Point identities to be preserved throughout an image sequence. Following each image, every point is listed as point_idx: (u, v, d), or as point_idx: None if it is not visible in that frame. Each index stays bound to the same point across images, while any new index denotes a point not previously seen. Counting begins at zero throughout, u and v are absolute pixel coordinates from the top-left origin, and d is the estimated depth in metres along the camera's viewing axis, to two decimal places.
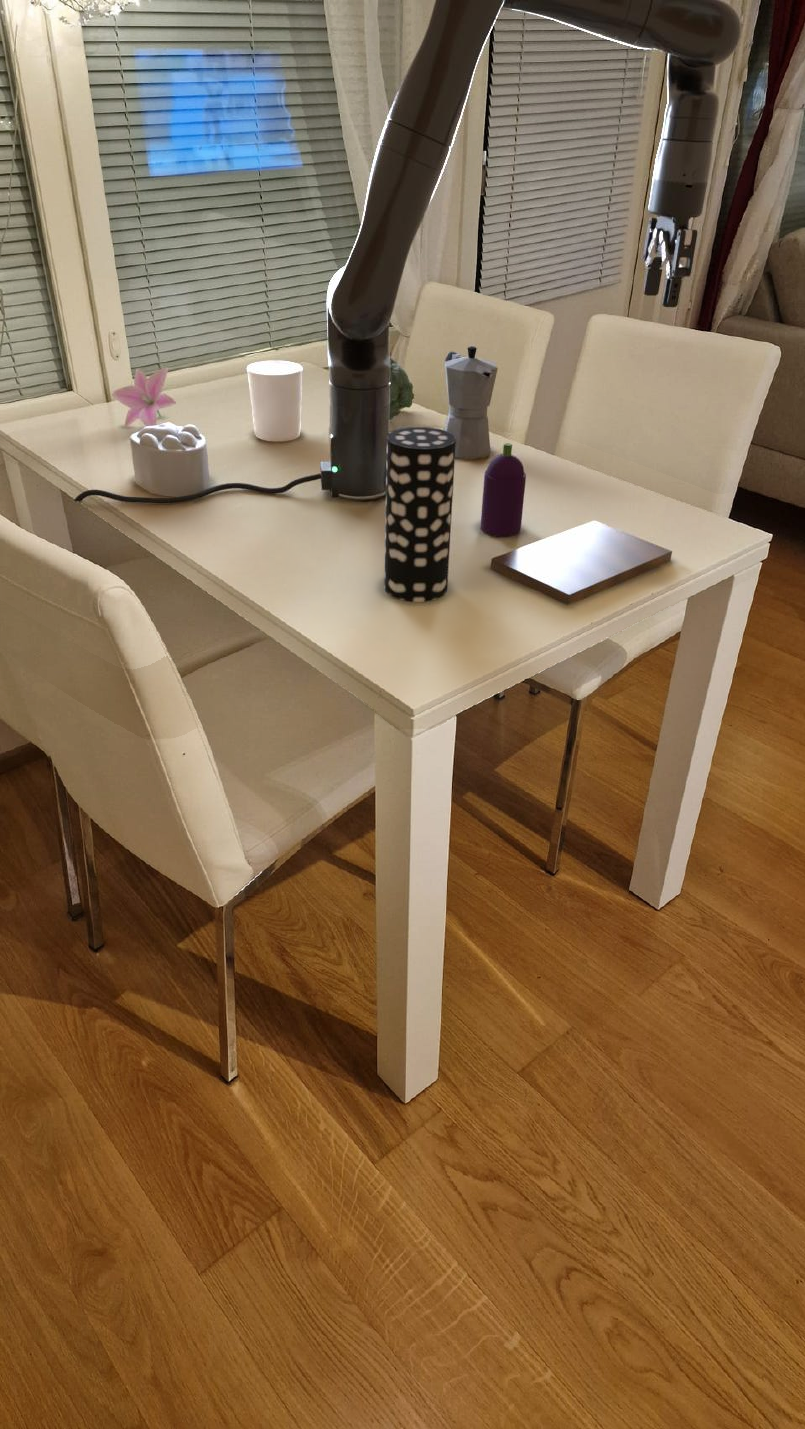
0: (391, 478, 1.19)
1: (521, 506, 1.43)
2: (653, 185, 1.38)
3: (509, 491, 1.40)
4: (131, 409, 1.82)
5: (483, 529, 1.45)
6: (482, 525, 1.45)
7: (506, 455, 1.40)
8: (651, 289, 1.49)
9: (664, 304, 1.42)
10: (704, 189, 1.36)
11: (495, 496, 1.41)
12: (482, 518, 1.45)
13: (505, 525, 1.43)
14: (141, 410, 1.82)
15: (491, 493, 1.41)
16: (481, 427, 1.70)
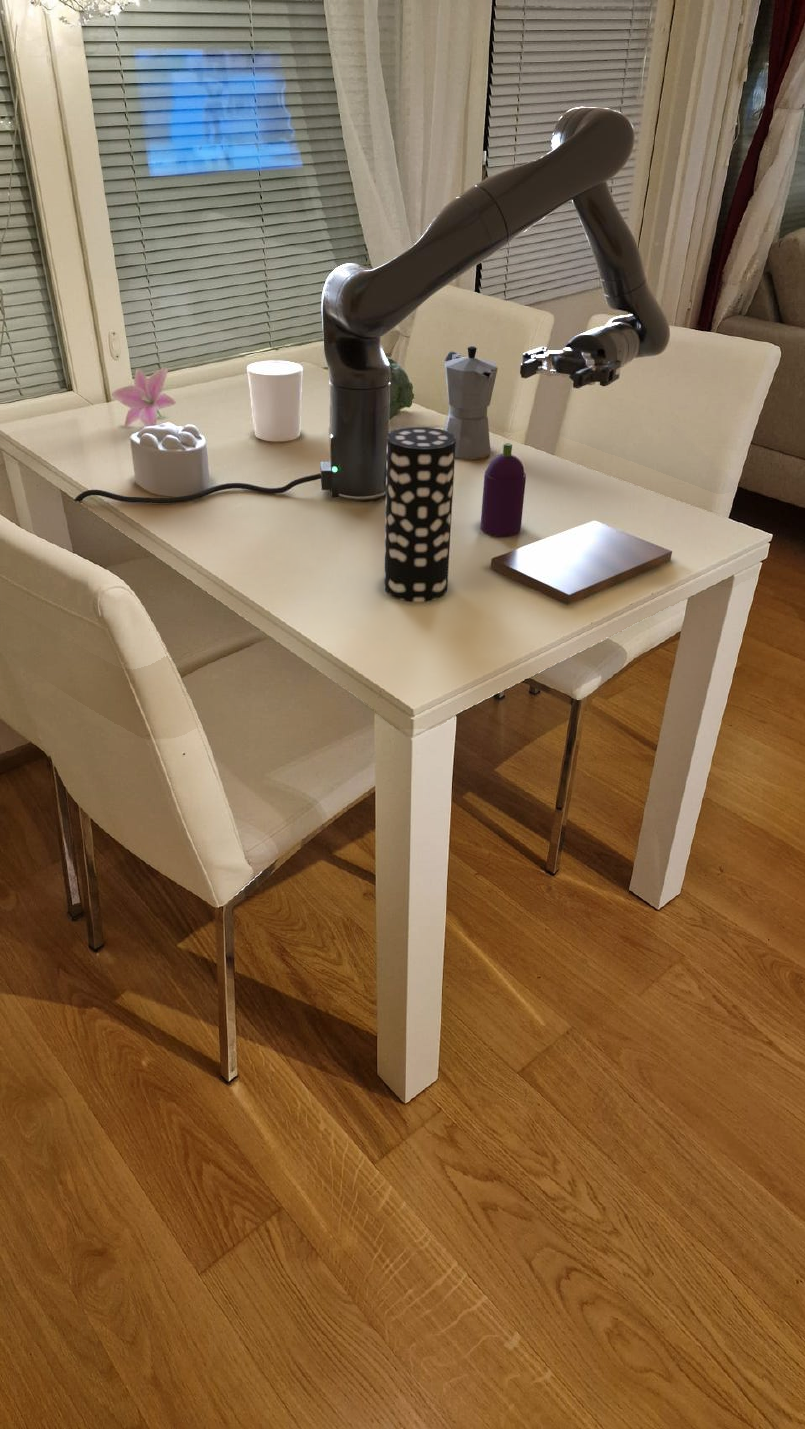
0: (391, 478, 1.19)
1: (521, 506, 1.43)
2: (595, 331, 1.52)
3: (509, 491, 1.40)
4: (131, 409, 1.82)
5: (483, 529, 1.45)
6: (482, 525, 1.45)
7: (506, 455, 1.40)
8: (528, 369, 1.46)
9: (579, 374, 1.41)
10: None
11: (495, 496, 1.41)
12: (482, 518, 1.45)
13: (505, 525, 1.43)
14: (141, 410, 1.82)
15: (491, 493, 1.41)
16: (481, 427, 1.70)
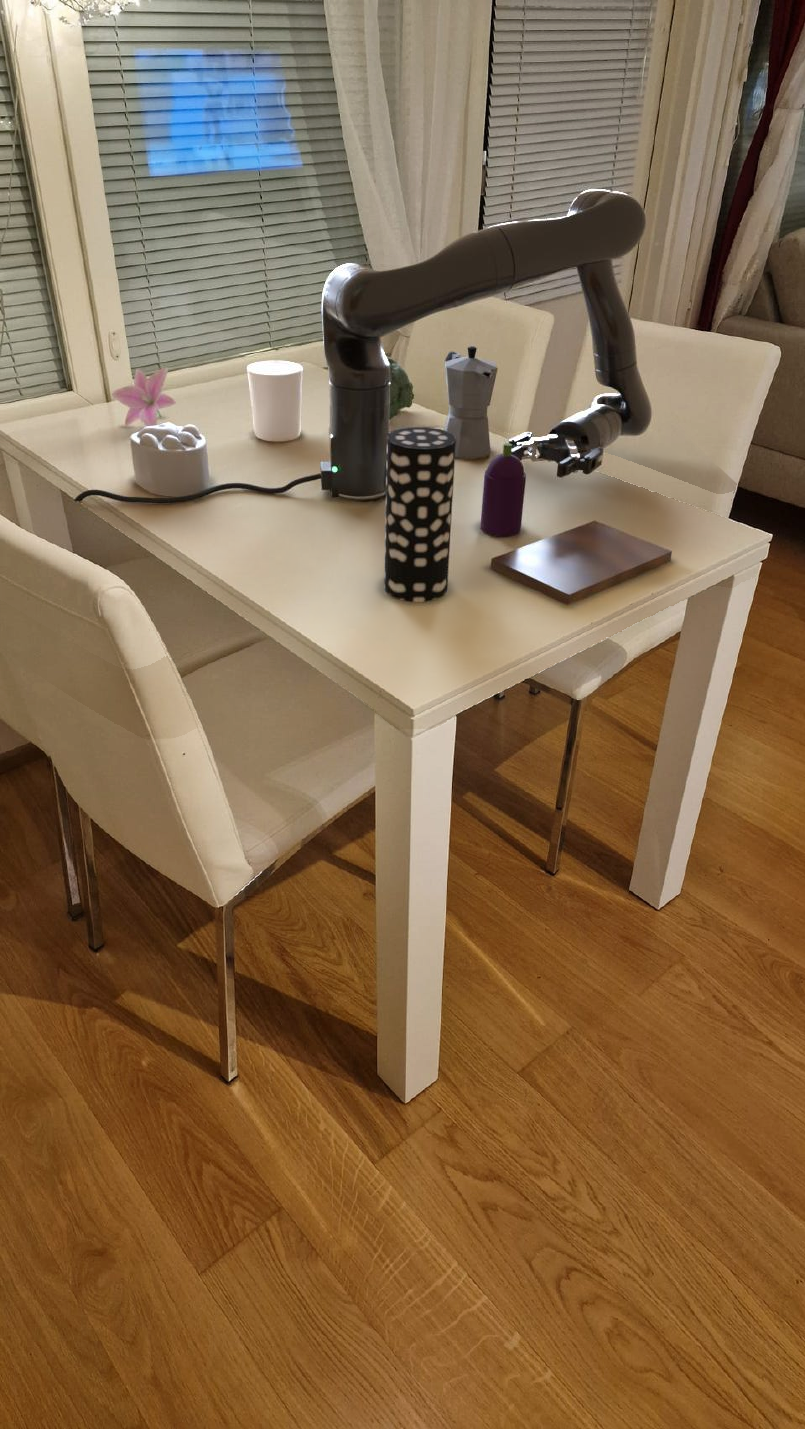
0: (391, 478, 1.19)
1: (521, 506, 1.43)
2: (579, 417, 1.57)
3: (509, 491, 1.40)
4: (131, 409, 1.82)
5: (483, 529, 1.45)
6: (482, 525, 1.45)
7: (506, 455, 1.40)
8: None
9: (563, 465, 1.47)
10: None
11: (495, 496, 1.41)
12: (482, 518, 1.45)
13: (505, 525, 1.43)
14: (141, 410, 1.82)
15: (491, 493, 1.41)
16: (481, 427, 1.70)
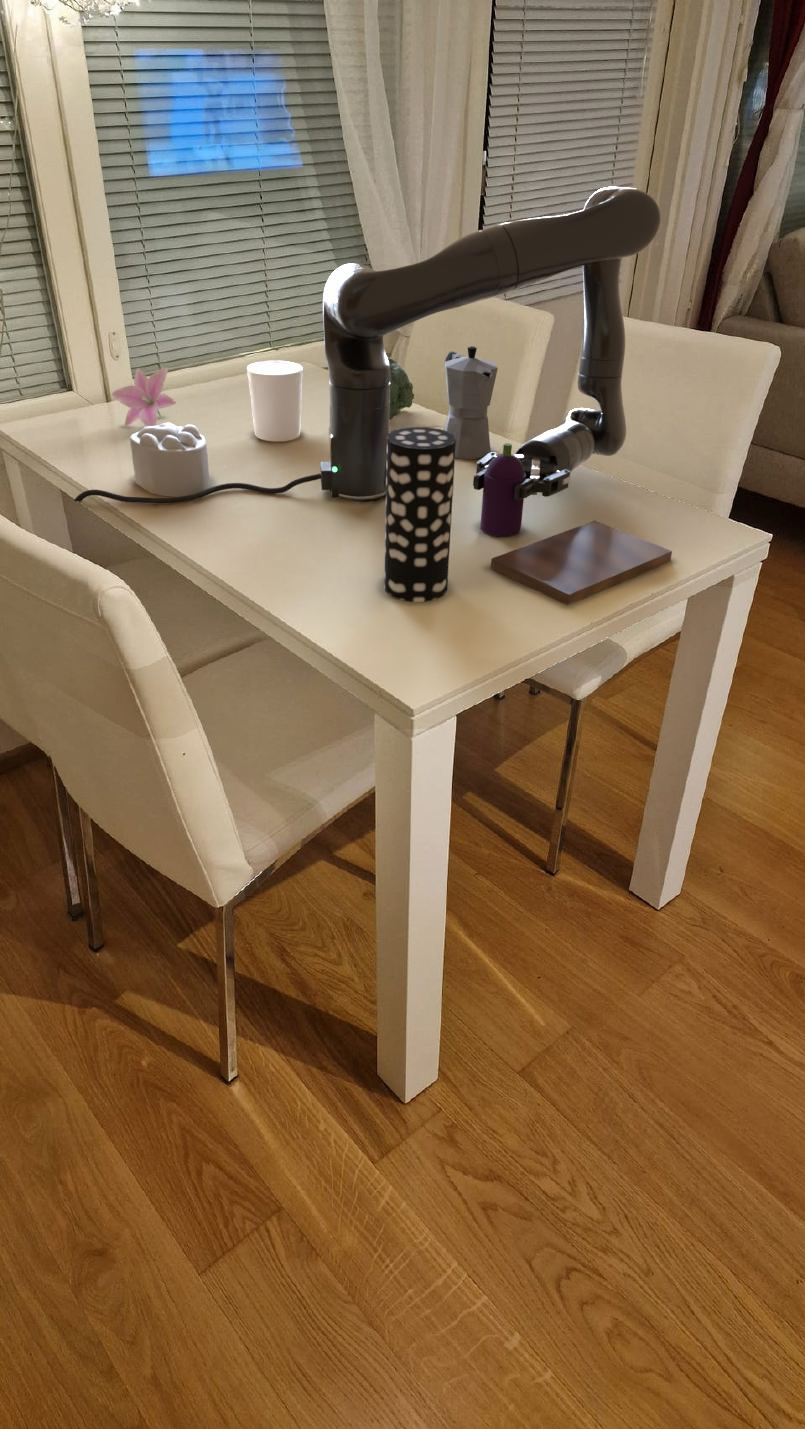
0: (391, 478, 1.19)
1: (521, 506, 1.43)
2: (548, 435, 1.50)
3: (509, 491, 1.40)
4: (131, 409, 1.82)
5: (483, 529, 1.45)
6: (482, 525, 1.45)
7: (506, 455, 1.40)
8: (481, 481, 1.43)
9: (520, 487, 1.39)
10: None
11: (494, 496, 1.41)
12: (482, 518, 1.45)
13: (505, 525, 1.43)
14: (141, 410, 1.82)
15: (491, 493, 1.41)
16: (481, 427, 1.70)
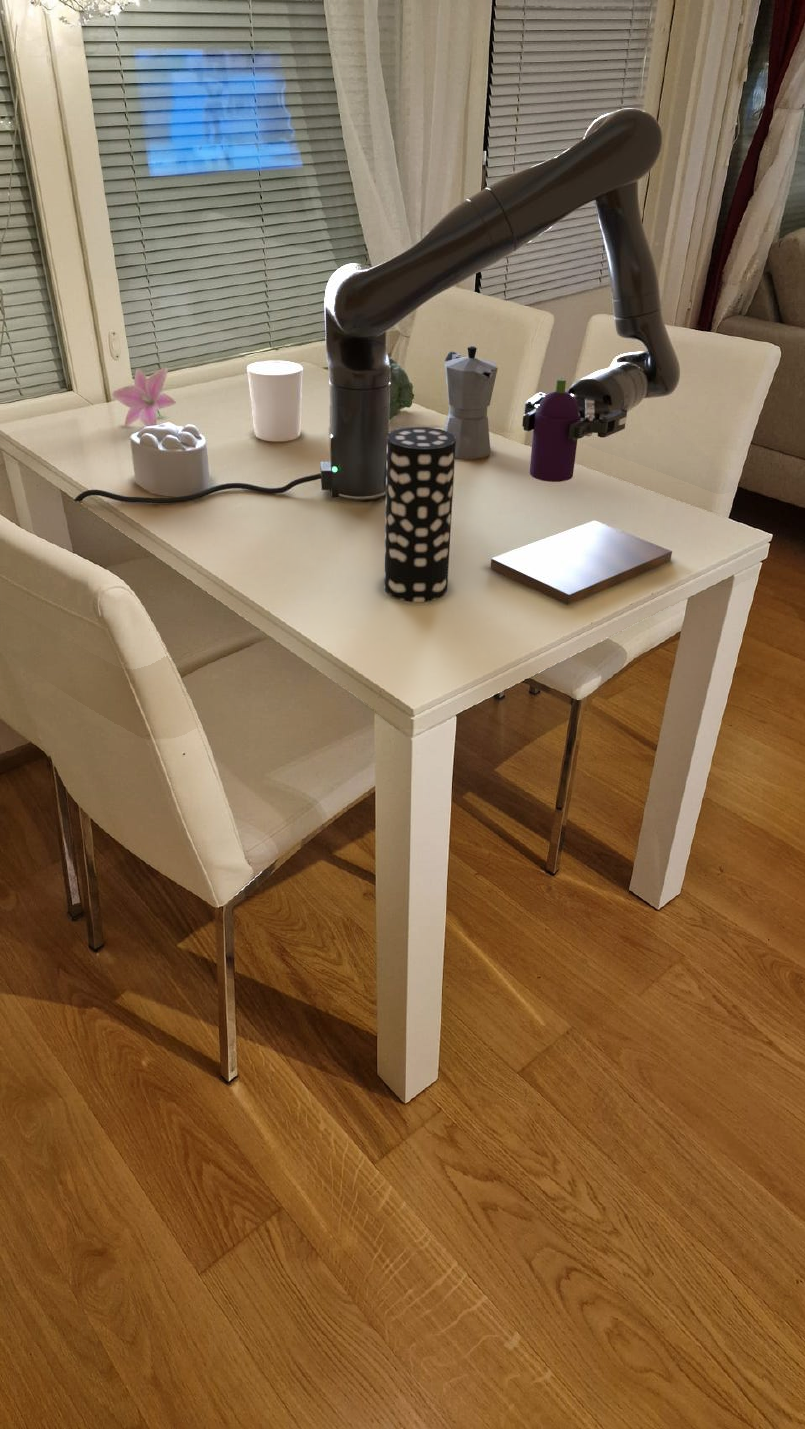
0: (391, 478, 1.19)
1: (575, 448, 1.32)
2: (600, 374, 1.39)
3: (563, 431, 1.29)
4: (131, 409, 1.82)
5: (533, 474, 1.34)
6: (532, 470, 1.34)
7: (559, 391, 1.29)
8: (531, 421, 1.32)
9: (575, 426, 1.28)
10: None
11: (547, 436, 1.30)
12: (532, 462, 1.34)
13: (557, 469, 1.32)
14: (141, 410, 1.82)
15: (543, 433, 1.30)
16: (481, 427, 1.70)
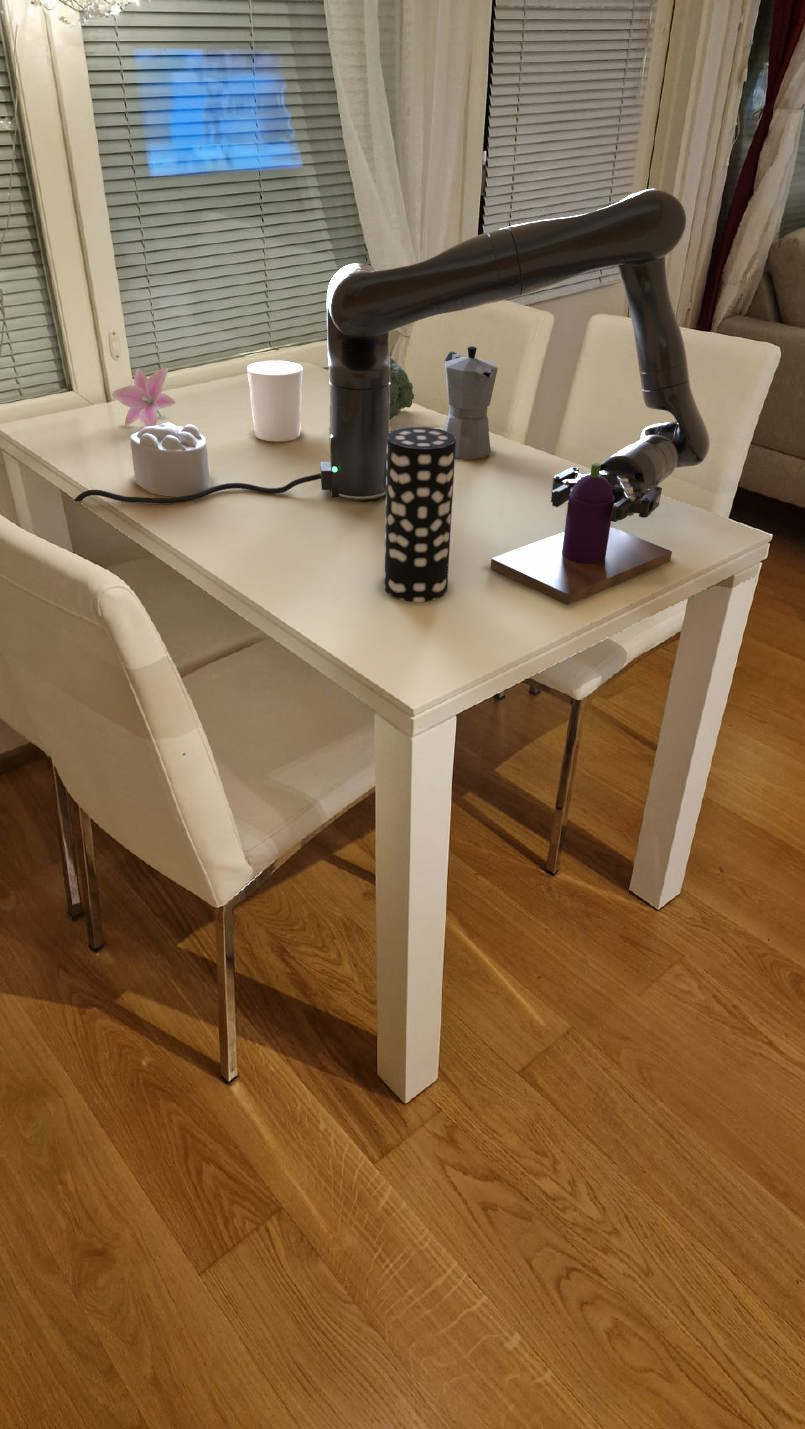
0: (391, 478, 1.19)
1: (608, 531, 1.32)
2: (632, 450, 1.39)
3: (597, 515, 1.30)
4: (131, 409, 1.82)
5: (566, 555, 1.35)
6: (565, 551, 1.35)
7: (594, 476, 1.29)
8: (560, 497, 1.33)
9: (617, 508, 1.28)
10: None
11: (581, 520, 1.30)
12: (565, 543, 1.34)
13: (590, 551, 1.32)
14: (141, 410, 1.82)
15: (577, 516, 1.31)
16: (481, 427, 1.70)
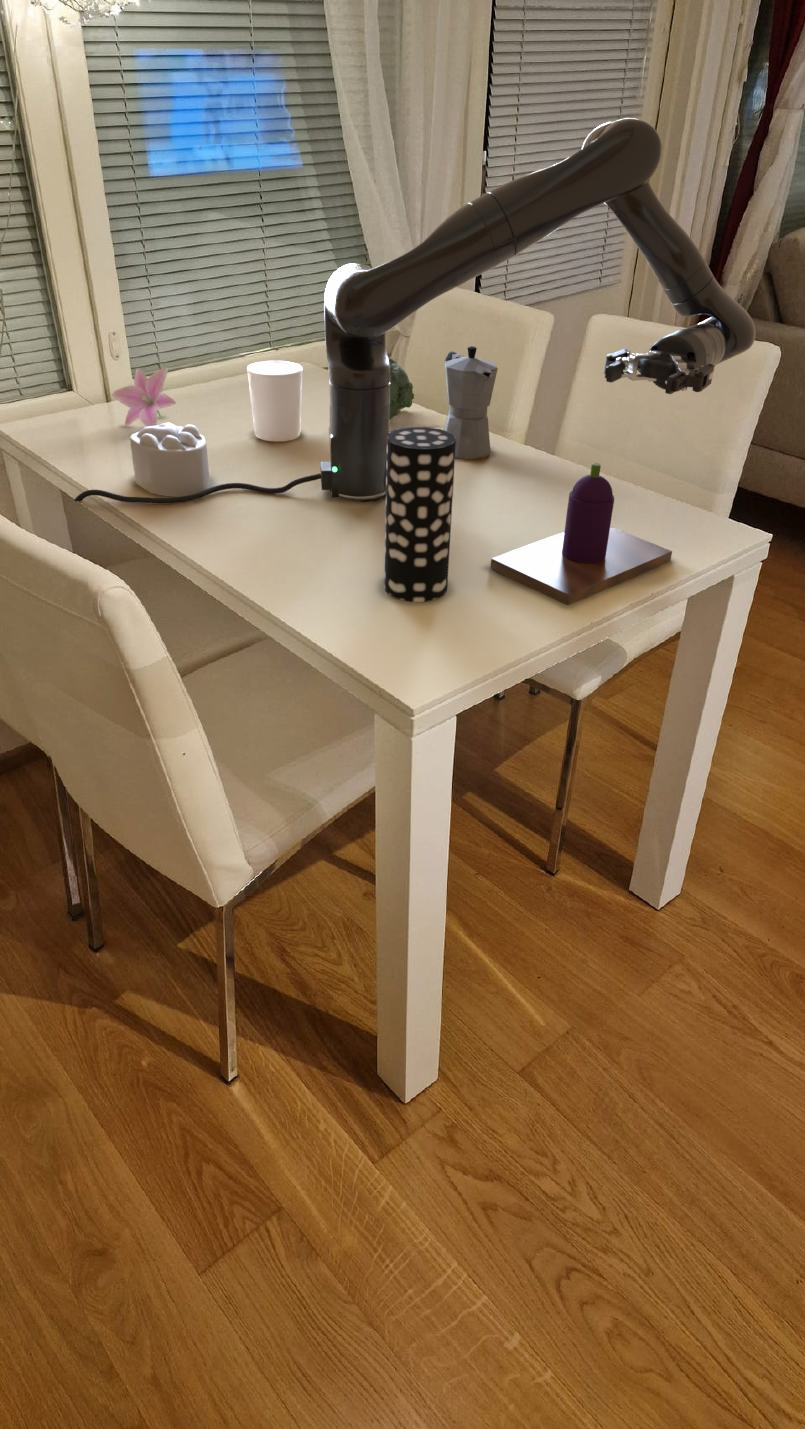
0: (391, 478, 1.19)
1: (608, 531, 1.32)
2: (683, 332, 1.40)
3: (597, 515, 1.30)
4: (131, 409, 1.82)
5: (566, 555, 1.35)
6: (565, 551, 1.35)
7: (594, 476, 1.29)
8: (614, 373, 1.34)
9: (673, 379, 1.29)
10: None
11: (581, 520, 1.30)
12: (565, 543, 1.34)
13: (590, 551, 1.32)
14: (141, 410, 1.82)
15: (577, 516, 1.31)
16: (481, 427, 1.70)
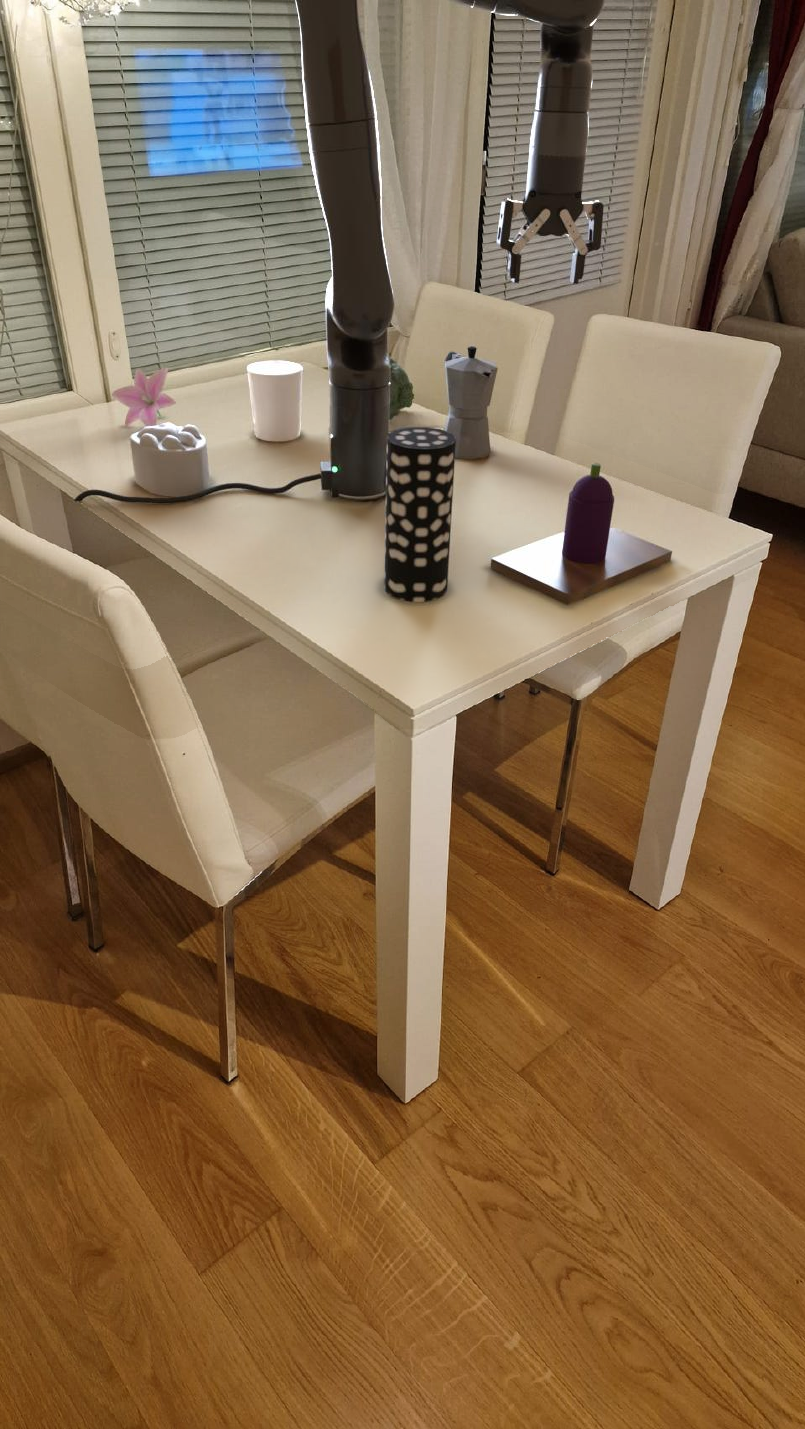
0: (391, 478, 1.19)
1: (608, 531, 1.32)
2: (563, 163, 1.28)
3: (597, 515, 1.30)
4: (131, 409, 1.82)
5: (566, 555, 1.35)
6: (565, 551, 1.35)
7: (594, 476, 1.29)
8: None
9: None
10: None
11: (581, 520, 1.30)
12: (565, 543, 1.34)
13: (590, 551, 1.32)
14: (141, 410, 1.82)
15: (577, 516, 1.31)
16: (481, 427, 1.70)
